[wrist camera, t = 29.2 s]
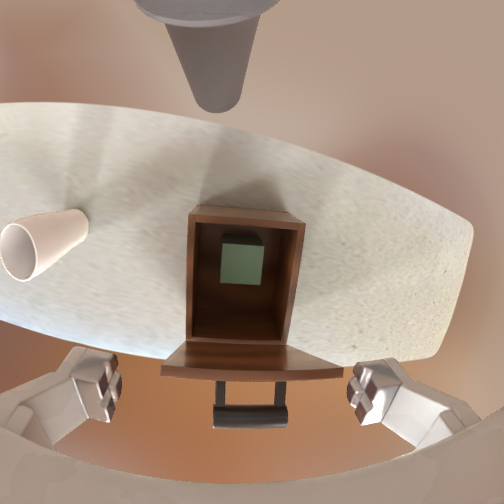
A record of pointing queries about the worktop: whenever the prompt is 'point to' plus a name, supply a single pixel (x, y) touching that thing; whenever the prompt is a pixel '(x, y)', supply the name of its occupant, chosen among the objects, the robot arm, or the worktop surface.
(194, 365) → the lid
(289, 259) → the chest
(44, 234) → the white tapered cylinder
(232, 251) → the block
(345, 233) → the worktop surface
